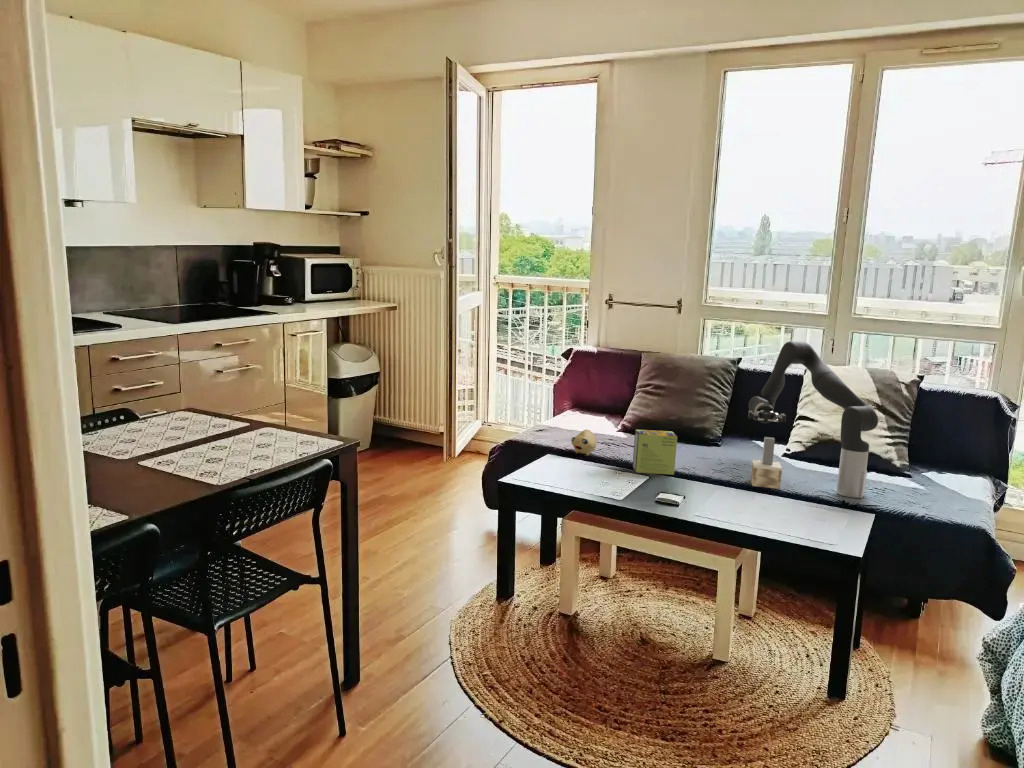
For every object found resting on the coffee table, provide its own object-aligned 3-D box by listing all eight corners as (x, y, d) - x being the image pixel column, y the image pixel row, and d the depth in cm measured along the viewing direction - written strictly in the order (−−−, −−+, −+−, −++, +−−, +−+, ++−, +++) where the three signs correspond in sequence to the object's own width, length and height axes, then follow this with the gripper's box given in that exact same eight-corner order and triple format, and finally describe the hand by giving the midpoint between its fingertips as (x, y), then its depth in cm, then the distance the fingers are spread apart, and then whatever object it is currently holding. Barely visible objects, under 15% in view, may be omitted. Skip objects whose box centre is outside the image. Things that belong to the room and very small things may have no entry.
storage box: (777, 482, 299) (779, 464, 298) (780, 488, 289) (781, 470, 288) (750, 479, 301) (752, 462, 300) (752, 485, 291) (754, 467, 290)
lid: (778, 468, 298) (781, 437, 296) (781, 474, 288) (784, 441, 287) (751, 465, 300) (754, 434, 298) (753, 471, 290) (756, 439, 289)
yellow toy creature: (566, 454, 327) (567, 430, 326) (579, 450, 337) (581, 426, 336) (586, 458, 322) (588, 433, 320) (599, 454, 332) (601, 429, 330)
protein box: (674, 475, 302) (678, 436, 300) (635, 472, 302) (638, 434, 300) (669, 468, 312) (672, 431, 310) (631, 466, 312) (634, 428, 310)
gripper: (747, 402, 319) (750, 408, 303) (783, 405, 316) (788, 411, 300) (745, 419, 320) (748, 426, 304) (781, 423, 317) (786, 430, 301)
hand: (768, 419), depth 302 cm, fingers open, 8 cm apart
